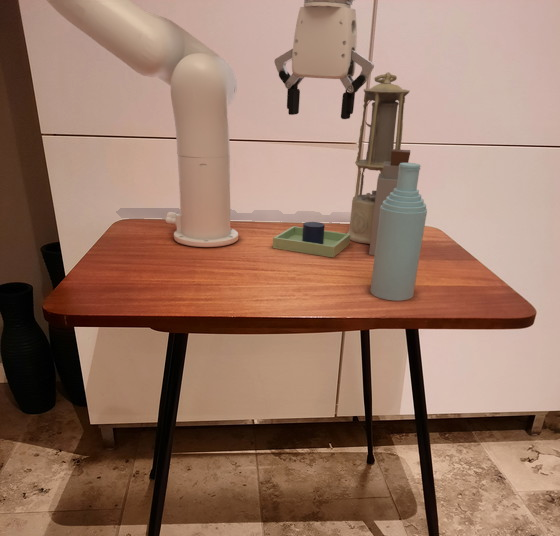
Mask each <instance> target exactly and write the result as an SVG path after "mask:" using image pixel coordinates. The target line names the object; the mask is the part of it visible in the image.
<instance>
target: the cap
mask: <svg viewBox="0 0 560 536" xmlns="http://www.w3.org/2000/svg"><path fill="white" fill-rule="evenodd" d="M325 225H326V224H325V223H323V222H319V221H306V222H303V223H302V227H303V236H302V241H304V242H311V243H317V244H323V241H324V230H325Z"/></svg>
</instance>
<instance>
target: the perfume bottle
mask: <svg viewBox="0 0 560 536" xmlns="http://www.w3.org/2000/svg"><path fill="white" fill-rule="evenodd" d="M410 156H411V149H400V150H398V149H395V148H393V149H392V151H391V162H388V161H384V164H383V169H384V174H380V172H378V176H377V179H376V181H377V182H376V190H375V191H376V198H375V206H374V215H373V224H372V232H371V241H370V244H369V251H368V255H369V256H375V248H376V240H377V232H378V223H379V215H380V207H381V205H382V203H383V201H384V200H386V197H387V196H390V193H391V192H393V190H394V188H397V180H398V172H399V165H400V163H409V162H410V161H409V160H410Z"/></svg>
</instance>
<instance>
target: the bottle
mask: <svg viewBox="0 0 560 536" xmlns="http://www.w3.org/2000/svg"><path fill="white" fill-rule="evenodd" d="M421 167H422V166H421V164H419V163H416V162H408V163H400V165H399V172H398V180H397V188H394V190H393V192H391V193H390V196H387V197H386V200H384V201H383V203H382V205H381V207H380V215H379V223H378V232H377V240H376V248H375V255H373V256H374V258H373V265H372V266H373V267H372V272H371V273H372V274H371V282H370V290H369V291H370V294H371V295H372V296H374V297H376V298H378V299H381V300H385V301H394V302H401V301H402V302H403V301H408V300H411V299H412V298H413V297H414V294H415V287H416V282H417V281H416V280H417V276H418V270H419V269H418V268H419V263H420V258H421V250H422V244H423V240H424V239H423V238H424V232H425V225H426V221H427V214H428V208H427V203H425V199H424V198H422V194H420V190H419V189H417V188H418V182H419V176H420V171H421Z"/></svg>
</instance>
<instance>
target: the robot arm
mask: <svg viewBox="0 0 560 536" xmlns="http://www.w3.org/2000/svg"><path fill="white" fill-rule="evenodd" d="M46 1H47V2H48V4H49V5H50V6H51V7H52V8H53V9H54V10H55V11H56V12H57V13H58V14H59V15H61V17H63V18H64V19H65V20H67V22H69V23H71V24H72V25H73V26H75V27H76V28H77V29H78V30H80V32H82V33H84V34H85V35H87V36H88V37H89V38H90V39H92V40H93V41H95V42H96V43H97V44H98V45H99V46H101V47H102V48H104V49H105V50H107V51H108V52H109V53H111V54H112V55H113V56H115V57H116V58H118V59H119V60H121V62H123V63H124V64H126V65H127V66H128V67H130V68H131V69H132V70H133V71H135V73H138V74H140V75H141V76H144V77H148V78H158V79H160V80H161V81H163V82H164V83H165V84H167V85H168V86H170V98H171V105H172V112H173V120H174V126H175V127H174V128H175V138H176V139H175V140H176V154H177V165H178V166H177V168H178V171H177V172H178V186H179V187H178V189H179V209H180V213H178V212H171V211H168V213H166V217H165V224H166V225H175V227H176V230H175V231H174V232H173V238H174V241H175V242H177V243H179V244H181V245H184V246H190V247H196V248H216V247H224V246H229V245H233V244H234V243H236V242H238V240H239V232H238V231H237V230H236V229H234V228H231V155H230V153H231V152H230V146H231V145H230V126H229V113H228V107H229V106H230V105H231V104H232V103H233V101H234V100H235V98H236V95H237V91H238V80H237V75H236V73H235V71H234V69H233V67H232V65H231V64H230V63H229V62H228V61H227V60H226V59H225V58H223V57H222V56H221V55H219V54H218V53H217V52H215V51H214V50H213V49H211V48H210V47H209V46H207V45H206V44H205V43H203V42H202V41H200V40H199V39H198V38H196V37H195V36H194V35H193V34H192V33H190V32H188V31H187V30H186V29H184V28H183V27H182V26H180V25H178V24H177V23H175V22H174V21H172V20H171V19H168V18H166V17H164V16H161V15H157V14H155V13H151V12H149V11H147V10H146V9H143V8H142V7H140V6H139V5H137V4H135V2H133V1H132V0H46ZM354 1H355V2H356V0H303V6H300V7H299V11H298V15H297V19H296V24H295V31H294V37H293V42H292V43H293V44H292V48H291V49H289V50H287V51H286V52H285V53H283V54H281V55H279V56H278V57H276V58H274V65H275V68H276V70H277V73H278V77H279V79H280V80H281V82H282V83H283V85H284V87H285V88H286V89H287V93H286V94H287V95H286V109H287V110H288V115H289V116H294V115H298V114H299V112H300V98H301V96H300V95H301V90H300V88H298V87H299V86H300V84H301V83H302V82H303V80H304V79H305V78H311V79H326V80H327V79H328V80H340V82H341V84H342V86H343V88H344V90H345V92H343V93H342V98H341V99H342V100H341V112H340V119H341V120H349V119H350V118H351V115H352V114H353V113H354V110H355V109H354V108H355V98H356V97H355V96H356V93H357V92H358V91H359V90H360V88H361V87H363V85H364V84H366V83H367V80H368V78H369V77H370V75H371V73H372V71H373V70H374V68H375V64H374V62H372V61H371V60H369V59H367V57H365V56H364V55H362V54H361V53H359V52H358V51H357V44H358V43H357V42H358V41H357V38H358V35H357V34H358V33H357V30H358V29H357V25H358V24H357V11H356V9H355V8H352V6H353V2H354ZM289 62H291V72H292V73H291V74H290V73H289V72H288V70H287V66H286V65H287V64H288V63H289ZM356 64H357V65H358V66H360V67H361V71H360V74H359V75H358V76H357V77H355V79H354V78H353V77H354V75H355V72H356Z"/></svg>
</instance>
